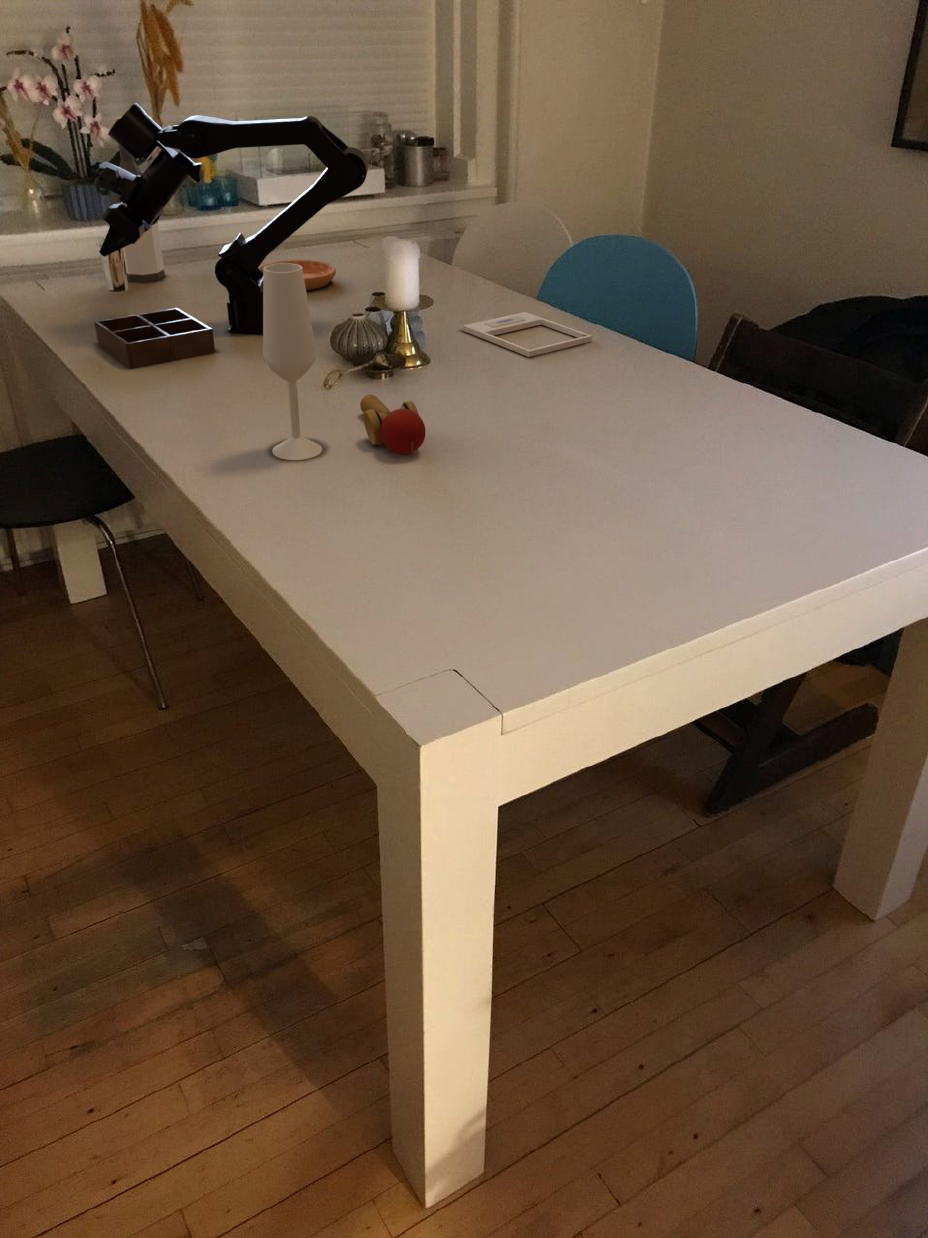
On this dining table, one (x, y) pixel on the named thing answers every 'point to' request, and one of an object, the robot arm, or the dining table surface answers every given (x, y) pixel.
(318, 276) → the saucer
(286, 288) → the champagne flute
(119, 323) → the organiser
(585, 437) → the dining table surface
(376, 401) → the kendama
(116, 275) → the milkshake
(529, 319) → the photo frame
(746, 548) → the dining table surface
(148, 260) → the wine bottle
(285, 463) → the dining table surface
